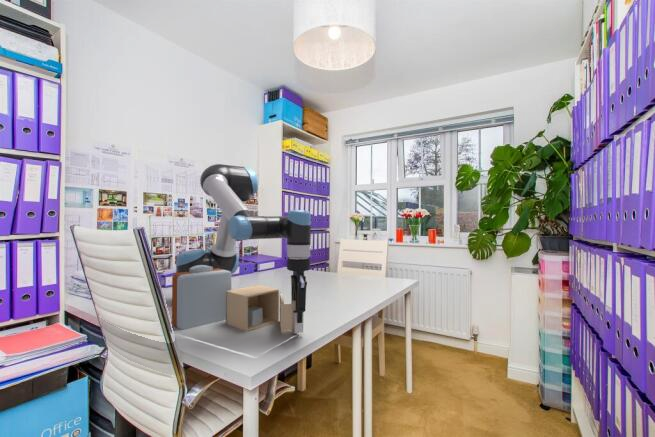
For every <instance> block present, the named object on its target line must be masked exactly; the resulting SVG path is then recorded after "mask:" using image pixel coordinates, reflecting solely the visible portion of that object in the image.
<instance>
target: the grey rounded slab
mask: <svg viewBox="0 0 655 437" xmlns="http://www.w3.org/2000/svg"><path fill="white" fill-rule="evenodd" d="M171 278H172V279H171V280H172V281H171V284H172V285H171V288H172V289H171V290H172V292H171V308H172V309H171V323H172V325H173V326H174V327H176V328H178V329H179V330H183V331H184V330H187V329H192V328H196V327H200V326H204V325H209V324H213V323H217V322H218V323H219V322H223V321H226V291H229V290H232V274H231V272H230V271H227V270H223V269H219V268H217V269H213V267H211V266H207V265H197V266H194V267H191V268H190V269H189V272H181V273H176V272H175V273H173V275H172V277H171Z"/></svg>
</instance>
